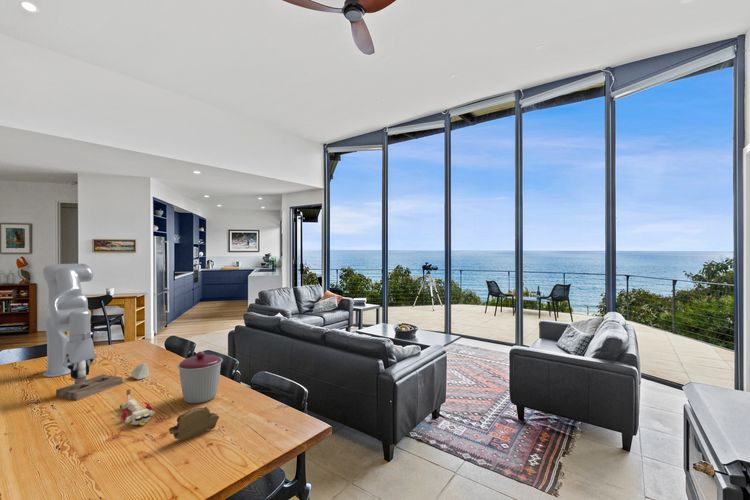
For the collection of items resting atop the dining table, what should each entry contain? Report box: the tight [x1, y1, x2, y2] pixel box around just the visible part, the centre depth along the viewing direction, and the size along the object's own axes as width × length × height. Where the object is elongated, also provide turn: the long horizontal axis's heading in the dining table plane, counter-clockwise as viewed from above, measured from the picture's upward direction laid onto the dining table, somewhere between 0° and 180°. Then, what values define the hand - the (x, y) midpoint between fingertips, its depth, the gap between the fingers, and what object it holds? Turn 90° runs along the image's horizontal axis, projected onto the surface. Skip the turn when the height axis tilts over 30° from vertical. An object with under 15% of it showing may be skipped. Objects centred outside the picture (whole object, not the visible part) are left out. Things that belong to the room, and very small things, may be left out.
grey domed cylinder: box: [73, 360, 87, 385], centre depth 158 cm, size 4×4×12 cm
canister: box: [176, 351, 224, 404], centre depth 153 cm, size 18×18×21 cm
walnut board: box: [55, 374, 123, 401], centre depth 162 cm, size 14×20×3 cm
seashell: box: [130, 363, 150, 380], centre depth 178 cm, size 8×8×8 cm
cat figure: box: [119, 388, 155, 426], centre depth 137 cm, size 10×9×25 cm
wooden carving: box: [168, 406, 220, 440], centre depth 122 cm, size 16×5×10 cm, turn 141°
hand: (80, 375), depth 158 cm, fingers closed on grey domed cylinder, 4 cm apart
